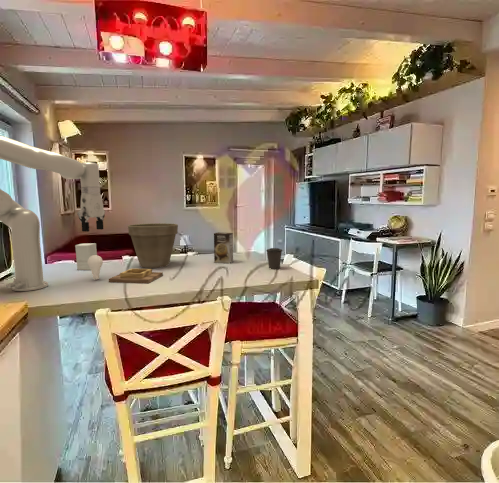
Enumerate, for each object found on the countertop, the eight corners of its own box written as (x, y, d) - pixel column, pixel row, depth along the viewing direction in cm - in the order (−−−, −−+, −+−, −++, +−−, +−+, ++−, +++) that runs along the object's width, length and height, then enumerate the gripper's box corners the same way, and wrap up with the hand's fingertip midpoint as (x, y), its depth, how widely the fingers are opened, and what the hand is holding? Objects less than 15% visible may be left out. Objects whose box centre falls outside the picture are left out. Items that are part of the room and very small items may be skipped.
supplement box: (98, 267, 186) (96, 243, 185) (90, 270, 179) (88, 245, 177) (84, 267, 187) (83, 243, 185) (76, 270, 180) (74, 245, 178)
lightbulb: (99, 277, 162) (97, 253, 161) (106, 279, 159) (105, 254, 157) (86, 280, 158) (84, 255, 156) (93, 282, 154) (91, 256, 152)
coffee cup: (285, 269, 176) (285, 248, 175) (270, 270, 173) (270, 250, 172) (278, 266, 184) (278, 246, 183) (263, 267, 181) (263, 247, 180)
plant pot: (162, 259, 207) (161, 221, 204) (188, 264, 190) (187, 223, 187) (121, 265, 189) (119, 224, 186) (145, 272, 172) (143, 227, 169)
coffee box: (213, 262, 195) (213, 233, 192) (218, 260, 201) (217, 232, 199) (229, 263, 192) (229, 233, 190) (233, 261, 198) (233, 232, 196)
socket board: (148, 283, 150) (147, 275, 150) (108, 282, 153) (108, 274, 153) (162, 275, 165) (162, 268, 165) (126, 274, 168) (126, 267, 168)
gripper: (84, 191, 148) (87, 232, 150) (110, 191, 165) (112, 228, 167) (69, 191, 150) (72, 232, 152) (95, 191, 167) (98, 228, 169)
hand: (93, 230), depth 159 cm, fingers open, 9 cm apart
